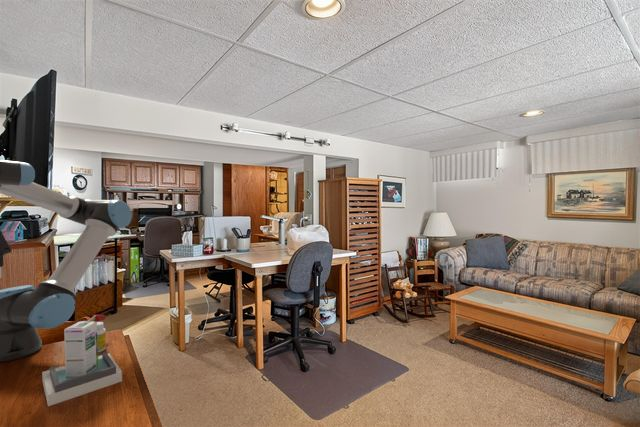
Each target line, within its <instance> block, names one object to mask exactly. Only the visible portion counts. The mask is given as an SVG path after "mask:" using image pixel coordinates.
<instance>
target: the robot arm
mask: <svg viewBox="0 0 640 427" xmlns="http://www.w3.org/2000/svg"><path fill="white" fill-rule="evenodd" d="M35 177H36V171H35V168H34V167H33V166H32V165H31V164H30V163H27V162H23V161H20V160H18V161H15V160H14V161H13V160H7V159H5V160H4V159H0V194H1V195H4V196H7V197H10V198H13V199H16V200H19V201H21V202H24V203H27V204H31V205H33V206H36V207H39V208H42V209H45V210H47V211H51V212H53V213H57V214H58V216H59V217H60V218H63V219H66V220H69V221H72V222H75V223H78V224H81V225H84V226H85V229H84V230H83V231H82V232H81V234H80V236H78V238H77V239H76V241H75V242H74V244H73V245H72V246H71V247H70V249H69V250H68V252H67V253H66V255H65V256H64V257H63V259H62V260H61V261H60V263H59V264H58V265H57V267H56V268H55V270H53V272H52V274H51V275H50V277H49V278H48V279H46V280H44V281H41V282H39V283H38V285H37V286H36V288H35V285H34V284H27V285H19V286H14V287H13V286H12V287H8V288H3V289H0V363H3V362H8V361H13V360H18V359H21V358H24V357H27V356H30V355H31V354H34V353H36V352H38V351H39V350H40V349H41V348H42V346H43V345H42V344H43V342H42V340H43V339H42V338H41V337H40V334H39V332H38V329H39V330H40V329H41V330H43V329H53V328H54V329H55V328H57V327H59V326H62V325H63V324H65V323H66V322H68V320H69V319H70V318H71V317H72V315H74V314H73V313H75V310H76V309H75V308H76V300H75V297H76V295H77V294H76V291H75V288H76V287H77V285H78V284H79V282H80V281H82V280H81V279H82V278H83V277H84V275H85V273H86V272H87V271H88V269H89V268H90V266H91V264H92V263H93V261H94V260H95V258H96V257H97V255H98V254H99V253H100V251H101V249H102V248H103V246H104V245H105V243H106V241H107V240H108V239H109V237H113V236H115V235H116V233H118V231H119V229H123V228H125V227H128V226H129V224H131V221H132V210H131V208H130V205H128V203H126V202H125V201H123V200H120V199H88V198H80V197H77V196H75V195H66V194H63V193H60V192H58V191H56V190H53V189H52V188H51V189H50V188H49V187H47V186H43V185H41V184H38V183H36V182H34V181H35ZM11 253H12V249H11V247H10V245H9V243H8V242H7V240H6V238H5V236H4V234H3V232H2V230H1V229H0V279H2V277H3V275H2V273H3V272H2V267H4V255H7V254H11Z"/></svg>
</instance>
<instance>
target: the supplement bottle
mask: <svg viewBox="0 0 640 427" xmlns="http://www.w3.org/2000/svg"><path fill="white" fill-rule="evenodd" d="M96 322H97V321H96ZM97 340H98V353H101V352H103V351H105V350H106V348H107V330H106V328H105V327H104V322H103V321H100V322H97Z"/></svg>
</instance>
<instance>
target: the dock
mask: <svg viewBox="0 0 640 427" xmlns="http://www.w3.org/2000/svg"><path fill="white" fill-rule="evenodd" d="M41 378H42V379H41V380H42V388H43V390H44V395H45V399H46V404H47V407H50V406H54V405H57V404H60V403H63V402H65V401H69V400H71V399H74V398H77V397H80V396H83V395H86V394H88V393H89V394H90V393H92V392H95V391H98V390H100V389H103V388H106V387H110V386H113V385H115V384H118V383H121V382H123V370H121V368H120V366H119V365H118V363H117V362H116V361H115V359H114V358H113V356H112V355H111V353H109V352H108V353H107V351H104V352H102V353H101V355H98V368H96V369H95V370H93V371H92V372H91V373H89V374H86V375H83V376H79V377H66V368H65V365H62V366H59V367H55V365H52V366H50V367H49V369H48V370H45V371H42V372H41Z"/></svg>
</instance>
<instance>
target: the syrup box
mask: <svg viewBox="0 0 640 427" xmlns="http://www.w3.org/2000/svg"><path fill="white" fill-rule="evenodd" d="M63 330H64V332H63V333H64V335H63V336H64V337H63V338H64V358H65V359H64V361H65V364H64V366H65V368H66V377H79V376H83V375H86V374H89V373H91V372H92V371H93V370H95V369H96V368H98V356H99V352H98V340H97V321H88V320H82V321H81V320H80V321H77V322H75V323H74V324H72V325H70V326H68V327H66V328H64V329H63Z"/></svg>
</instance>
